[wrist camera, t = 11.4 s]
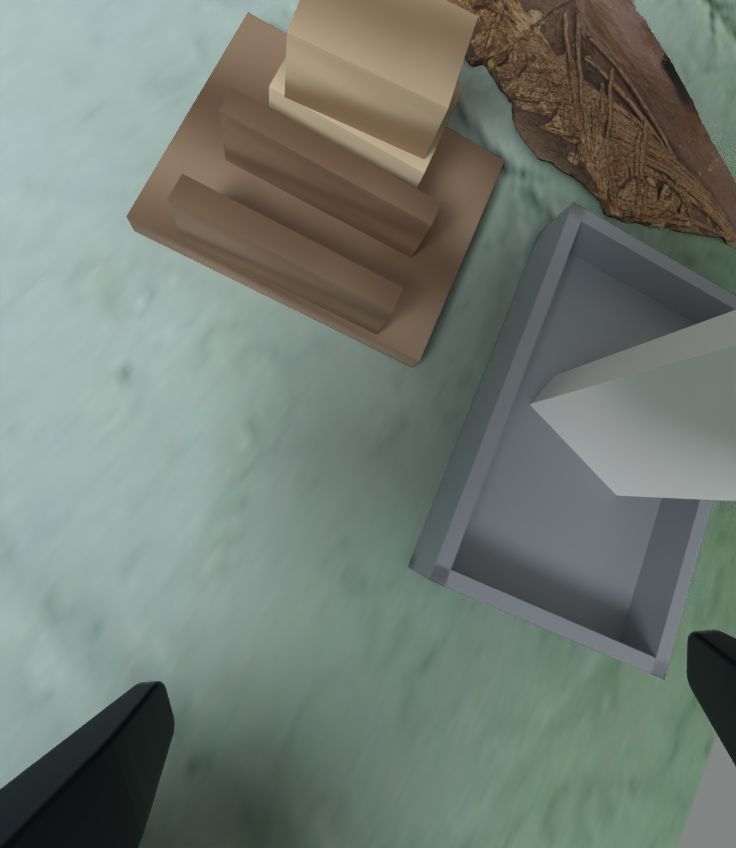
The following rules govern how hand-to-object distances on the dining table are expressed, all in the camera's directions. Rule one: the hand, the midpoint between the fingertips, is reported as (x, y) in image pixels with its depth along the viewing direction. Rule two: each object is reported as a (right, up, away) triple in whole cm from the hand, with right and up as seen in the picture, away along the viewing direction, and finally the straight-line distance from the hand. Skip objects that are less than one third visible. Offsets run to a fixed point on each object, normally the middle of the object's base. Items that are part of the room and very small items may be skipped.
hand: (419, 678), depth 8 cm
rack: (-2, +14, +12) cm, 18 cm away
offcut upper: (-1, +16, +9) cm, 19 cm away
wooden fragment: (+10, +22, +16) cm, 28 cm away
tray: (+8, +4, +13) cm, 16 cm away
